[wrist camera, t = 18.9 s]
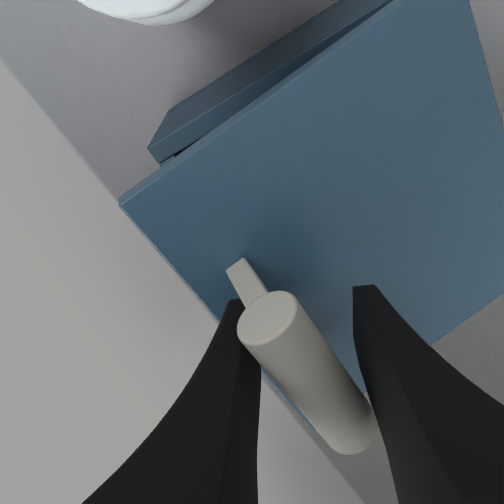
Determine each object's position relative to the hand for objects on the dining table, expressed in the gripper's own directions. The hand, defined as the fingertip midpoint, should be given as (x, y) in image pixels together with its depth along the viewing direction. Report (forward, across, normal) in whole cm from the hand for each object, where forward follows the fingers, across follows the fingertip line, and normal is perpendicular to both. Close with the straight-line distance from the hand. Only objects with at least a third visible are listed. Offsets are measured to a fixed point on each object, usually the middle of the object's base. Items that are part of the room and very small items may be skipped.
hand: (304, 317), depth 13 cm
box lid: (+3, -2, -1) cm, 4 cm away
